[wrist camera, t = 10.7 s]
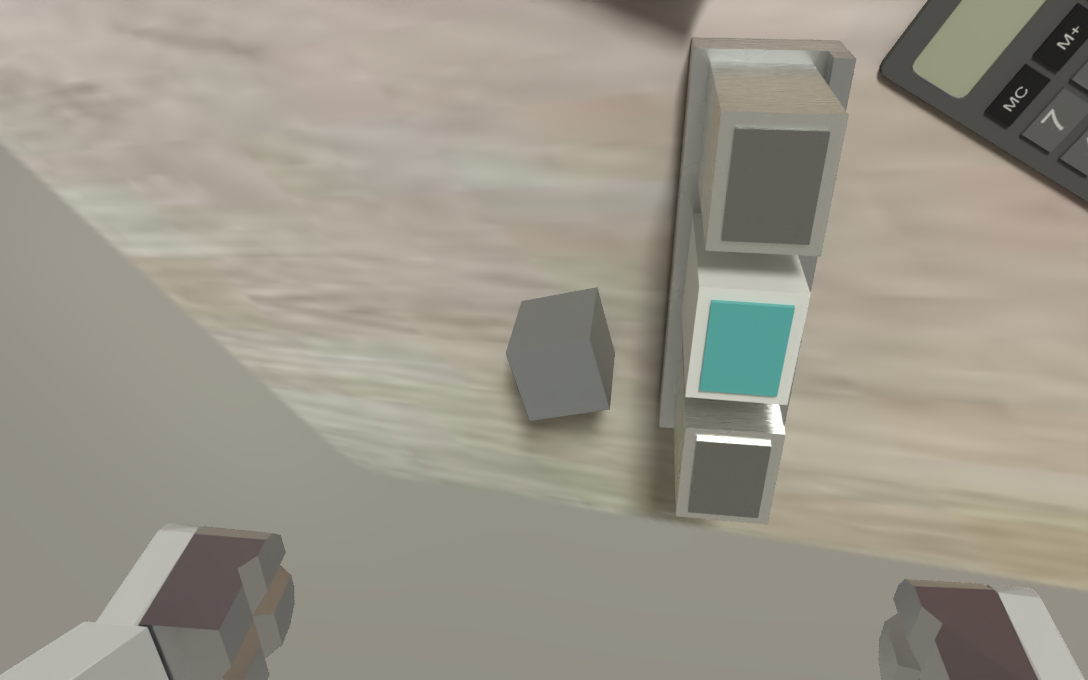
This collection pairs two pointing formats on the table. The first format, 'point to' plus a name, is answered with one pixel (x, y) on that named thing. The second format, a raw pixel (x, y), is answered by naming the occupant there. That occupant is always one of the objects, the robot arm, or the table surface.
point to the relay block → (562, 355)
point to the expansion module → (741, 322)
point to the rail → (748, 237)
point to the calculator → (1006, 76)
